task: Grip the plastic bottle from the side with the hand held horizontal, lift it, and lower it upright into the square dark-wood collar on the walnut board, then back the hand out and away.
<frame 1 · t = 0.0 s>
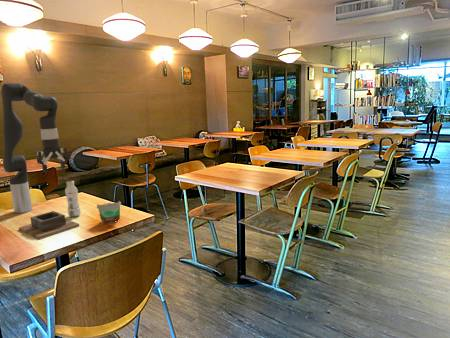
hand: (54, 170, 171), 29 cm above the table, tool pointing down, fingers open, 8 cm apart
food container: (111, 222, 181), on the table
plastic bottle: (74, 216, 192), on the table
bottle holder: (49, 227, 175), on the table
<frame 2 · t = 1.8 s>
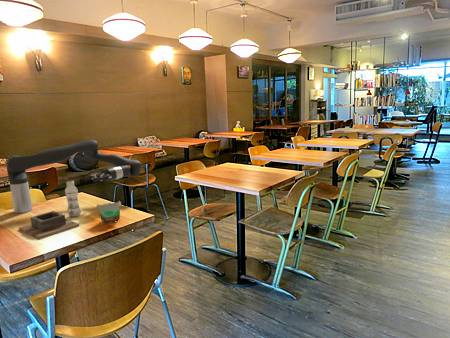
hand: (89, 179, 196), 19 cm above the table, tool horizontal, fingers open, 8 cm apart
nothing on the table moved.
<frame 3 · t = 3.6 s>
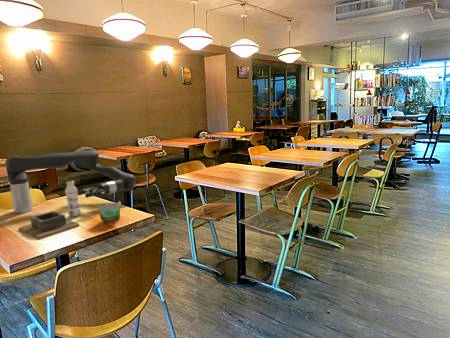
hand: (81, 194, 194), 11 cm above the table, tool horizontal, fingers open, 8 cm apart
nothing on the table moved.
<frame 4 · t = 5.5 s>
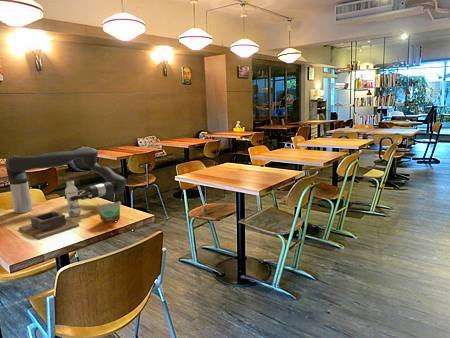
hand: (68, 198, 188), 11 cm above the table, tool horizontal, fingers closed on plastic bottle, 6 cm apart
plastic bottle: (74, 216, 192), on the table, touching gripper
everything else where it was.
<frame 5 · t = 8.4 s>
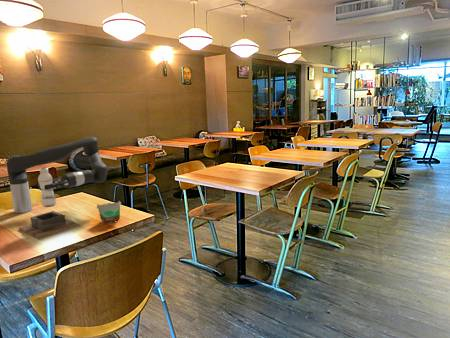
hand: (41, 186, 170), 22 cm above the table, tool horizontal, fingers closed on plastic bottle, 6 cm apart
plastic bottle: (49, 206, 175), point 11 cm above the table, touching gripper
everything else where it was.
when the fingers open (13 cm above the table, at t = 11.2 s): plastic bottle stays where it is, resting on bottle holder.
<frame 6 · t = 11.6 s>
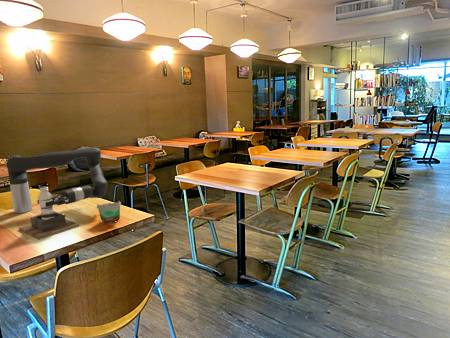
hand: (41, 203, 171), 14 cm above the table, tool horizontal, fingers open, 8 cm apart
plastic bottle: (49, 225, 175), point 1 cm above the table, touching bottle holder
everything else where it was.
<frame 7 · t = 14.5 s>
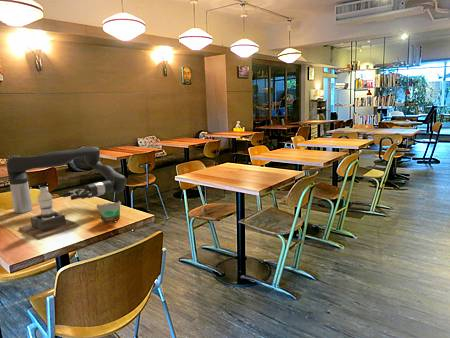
hand: (66, 196, 181), 14 cm above the table, tool horizontal, fingers open, 8 cm apart
nothing on the table moved.
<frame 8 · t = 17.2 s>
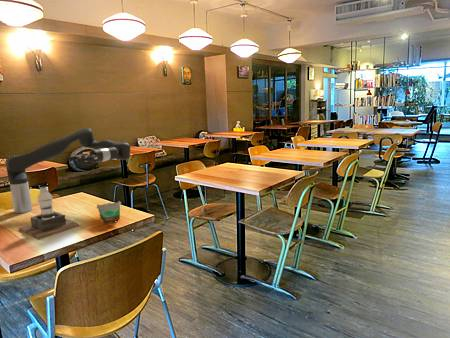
hand: (73, 159, 184), 32 cm above the table, tool horizontal, fingers open, 8 cm apart
nothing on the table moved.
at the end: plastic bottle 0.1 cm off-centre on the bottle holder, point 1.0 cm above the bottle holder's base; plastic bottle tilted 0°; the gripper is holding nothing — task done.
